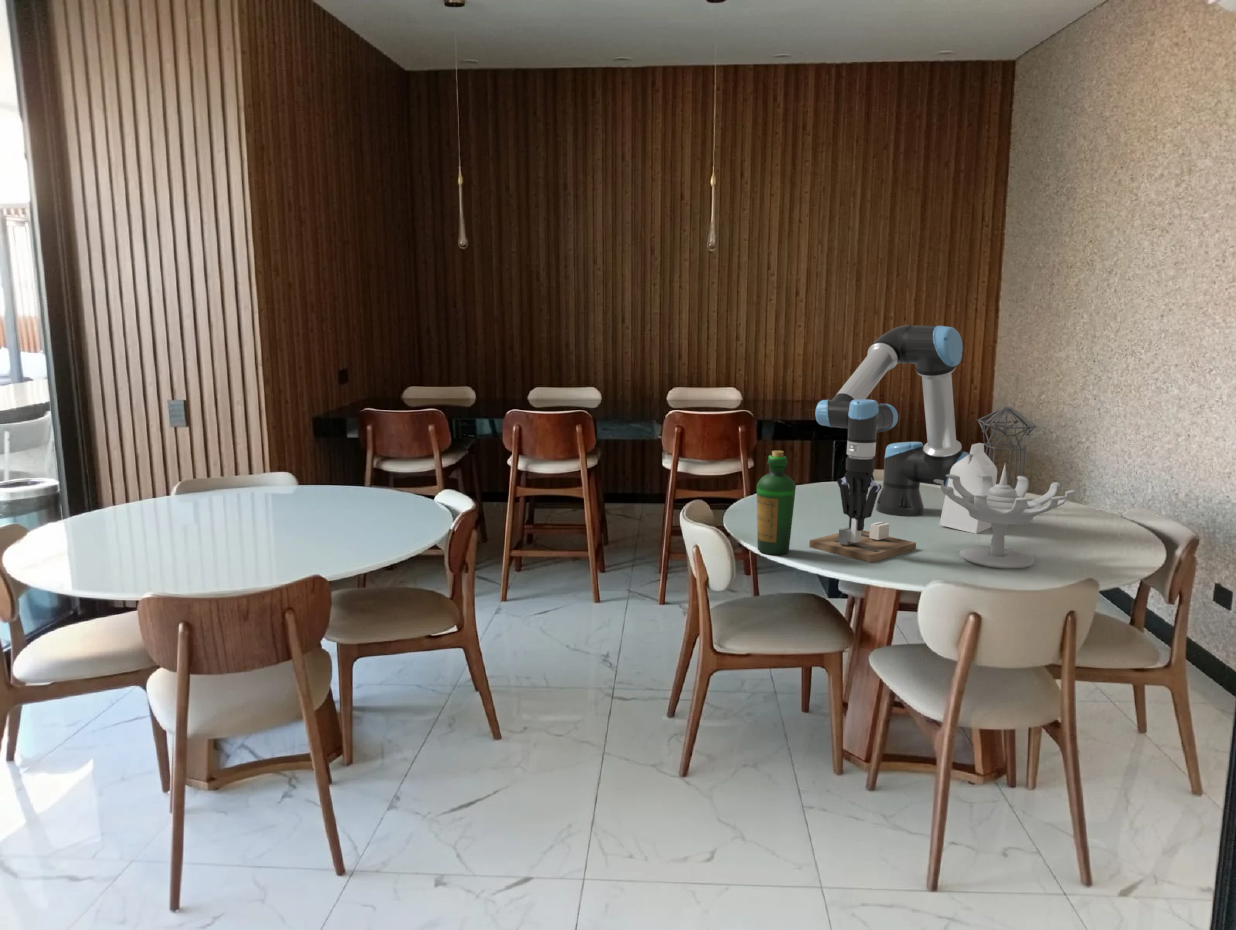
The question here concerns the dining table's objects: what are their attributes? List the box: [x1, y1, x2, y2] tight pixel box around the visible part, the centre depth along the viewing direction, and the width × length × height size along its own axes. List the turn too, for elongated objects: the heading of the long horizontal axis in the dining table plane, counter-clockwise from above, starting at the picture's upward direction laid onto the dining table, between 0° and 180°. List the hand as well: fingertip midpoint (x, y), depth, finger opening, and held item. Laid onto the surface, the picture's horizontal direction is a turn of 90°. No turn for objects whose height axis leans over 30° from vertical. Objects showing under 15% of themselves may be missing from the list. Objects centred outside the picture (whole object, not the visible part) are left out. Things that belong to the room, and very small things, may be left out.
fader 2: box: [869, 521, 890, 540], centre depth 259 cm, size 3×5×4 cm, turn 130°
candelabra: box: [933, 463, 1077, 570], centre depth 243 cm, size 34×35×27 cm
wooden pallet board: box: [808, 529, 917, 563], centre depth 256 cm, size 20×22×2 cm
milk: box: [939, 442, 998, 534], centre depth 281 cm, size 12×12×26 cm
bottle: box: [756, 450, 797, 556], centre depth 249 cm, size 11×11×28 cm
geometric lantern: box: [976, 406, 1038, 490], centre depth 307 cm, size 16×16×35 cm
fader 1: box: [838, 526, 858, 545], centre depth 253 cm, size 3×5×4 cm, turn 130°
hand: (855, 541), depth 251 cm, fingers closed
